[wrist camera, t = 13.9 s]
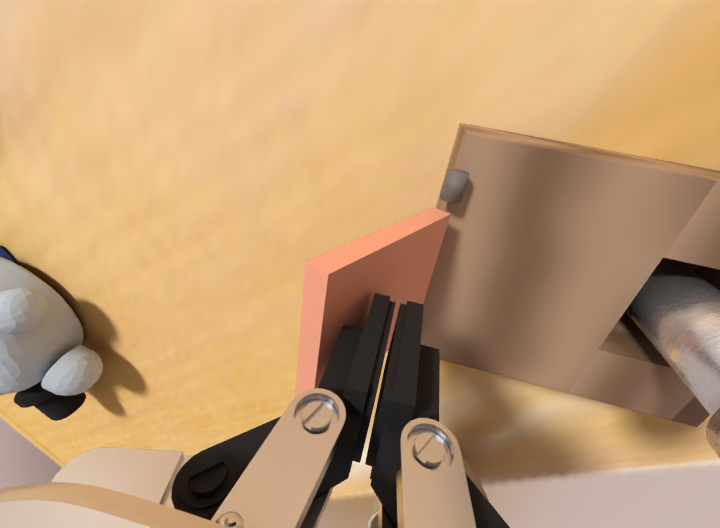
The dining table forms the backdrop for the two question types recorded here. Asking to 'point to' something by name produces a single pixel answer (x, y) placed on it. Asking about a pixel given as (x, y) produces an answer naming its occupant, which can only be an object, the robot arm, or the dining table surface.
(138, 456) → the robot arm
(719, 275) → the block
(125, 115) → the dining table surface
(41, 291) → the figurine
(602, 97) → the dining table surface
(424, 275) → the plate
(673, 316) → the pin
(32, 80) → the dining table surface
